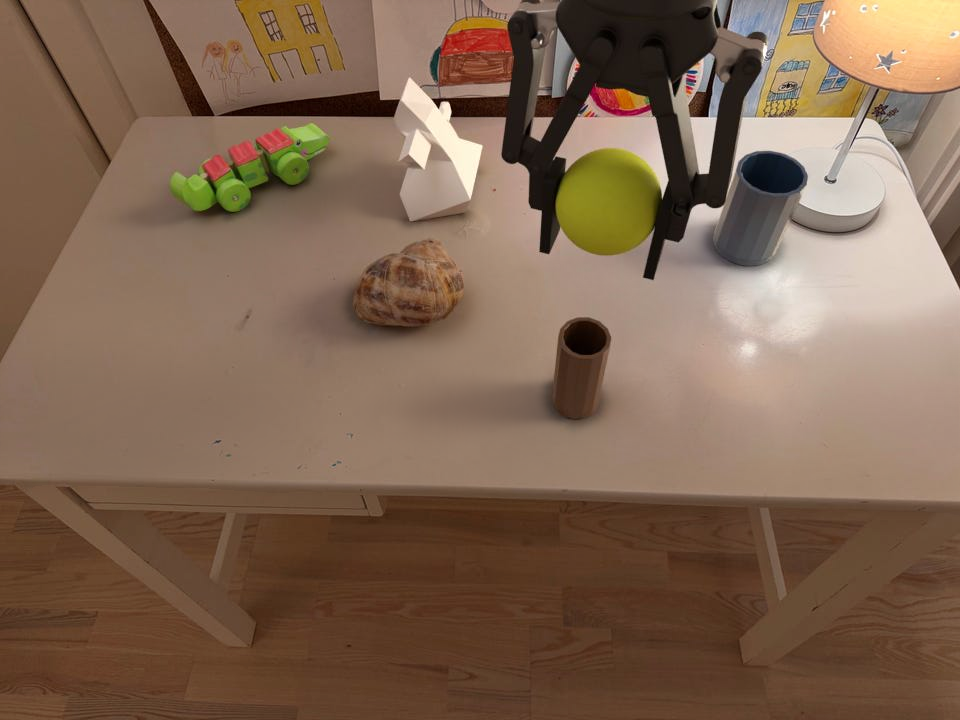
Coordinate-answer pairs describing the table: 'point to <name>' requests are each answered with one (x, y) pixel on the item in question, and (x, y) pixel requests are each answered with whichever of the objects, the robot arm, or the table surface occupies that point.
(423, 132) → the white angular sculpture
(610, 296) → the table surface
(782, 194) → the cup
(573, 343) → the stand
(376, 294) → the seashell
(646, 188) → the ball
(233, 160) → the toy crocodile
